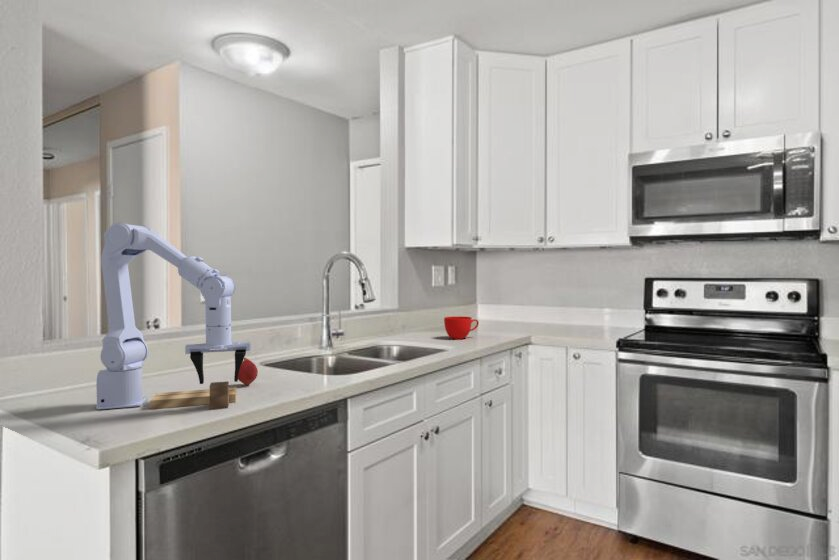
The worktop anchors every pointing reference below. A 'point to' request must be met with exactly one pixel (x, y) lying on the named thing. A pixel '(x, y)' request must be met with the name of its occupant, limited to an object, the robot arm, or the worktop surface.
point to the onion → (247, 372)
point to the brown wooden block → (219, 395)
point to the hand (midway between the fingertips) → (219, 382)
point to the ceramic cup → (459, 326)
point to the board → (186, 398)
